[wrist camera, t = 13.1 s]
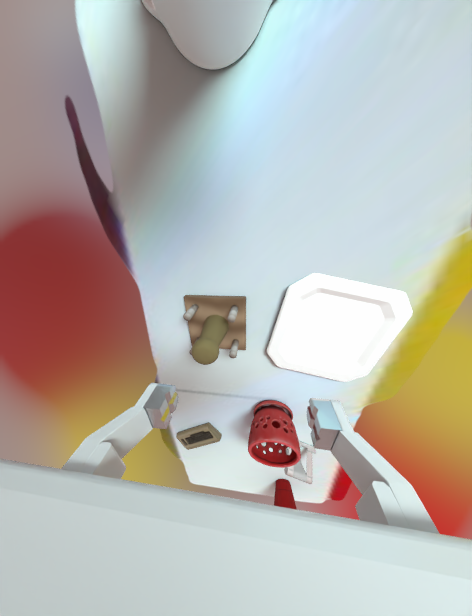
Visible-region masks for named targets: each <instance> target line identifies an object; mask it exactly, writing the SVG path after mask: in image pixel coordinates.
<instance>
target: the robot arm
mask: <svg viewBox="0 0 472 616" xmlns="http://www.w3.org/2000/svg"><path fill="white" fill-rule="evenodd" d="M272 1H273V0H142V2H143V4H144V6H145V7H146V9H147V10H148V11H149V12H150V13H151V14H152V15H153V16H154V17H156V18H157V19H158V20H159V21H161V22H162V24H163V25H164V26H165V28H166V30H167V31H168V33H169V35H170V37H171V39H172V41H173V42H174V44H175V46H176V47H177V48H178V50H179V51H180V52H181V53H182V55H183V56H184V57H185V58H186V59H188V60H189V61H190V62H191V63H193V64H195V65H197V66H199V67H201V68H205V69H221V68H224V67H226V66H229V65H230V64H232V63H234V62H235V61H237V60H238V59H239V58H240V57H241V56H242V55H243V54H244V53H245V52H246V51H247V50H248V48H249V47H250V46H251V44H252V43H253V41H254V39H255V38H256V36H257V34H258V32H259V30H260V28H261V26H262V23H263V21H264V19H265V16H266V14H267V11H268V9H269V7H270V5H271V3H272ZM175 391H176V387H175V385H166V384H158V383H151V384H150V385H149V386H148V387H147V389H146V390H145V392H144V393H143V394H142V396H141V397H140V399H139V400H138V402H137V403H136V405H135V406H134V407H131V408H129V409H128V410H126V411H125V412H123V413H122V414H121V415H119V416H118V417H116V418H115V419H113V420H112V421H110V422H109V423H107V424H106V425H105V426H103V427H102V428H100V429H99V430H97V431H96V432H94V433H93V434H91V435H90V436H89V437H87V438H86V439H85V440H84V441H83V443H82V444H81V445H80V446H79V447H78V449H77V450H76V451H75V452H74V454H73V455H72V456H71V457H70V459H69V460H68V461H67V462H66V464H65V465H64V466H63V467H62V469H58V468H52V467H46V466H40V465H34V464H28V463H22V462H17V461H11V460H6V459H0V616H472V540H471V539H465V538H459V537H454V536H448V535H441V534H439V532H438V531H437V528H436V527H435V525H434V523H433V521H432V520H431V518H430V516H429V515H428V513H427V511H426V510H425V508H424V506H423V504H422V502H421V501H420V499H419V497H418V495H417V494H416V492H415V490H414V489H413V487H412V485H411V484H410V483H409V482H408V481H407V480H405V478H404V477H403V476H401V475H400V474H399V473H398V472H397V471H396V470H395V469H394V468H393V467H392V466H391V465H390V464H389V463H388V462H387V461H386V460H385V459H384V458H383V457H382V456H381V455H380V454H379V453H378V452H377V451H376V450H375V449H374V448H373V447H372V446H370V445H369V444H368V443H367V442H366V441H365V440H364V439H363V438H362V437H361V436H360V435H359V434H358V433H355V432H354V430H353V428H352V426H351V424H350V422H349V419H348V417H347V415H346V413H345V411H344V408H343V406H342V404H341V402H340V401H338V400H328V399H316V398H310V400H309V404H310V406H309V407H308V408H307V421H308V425H309V426H310V428H311V429H312V431H311V438H312V442H313V446H314V448H317V449H324V450H330V451H331V452H332V454H333V455H334V456H335V458H336V459H337V461H338V462H339V463H340V465H341V466H342V467H343V469H344V470H345V472H346V473H347V474H348V476H349V477H350V478H351V480H352V481H353V482H354V484H355V485H356V486H357V488H358V489H359V491H360V492H361V493H362V495H363V496H362V497H361V498H360V500H359V501H358V502H357V504H356V506H355V507H356V510H357V513H358V516H359V519H360V520H354V519H349V518H342V517H337V516H331V515H326V514H320V513H314V512H308V511H302V510H297V509H291V508H285V507H279V506H273V505H267V504H262V503H256V502H249V501H244V500H238V499H233V498H227V497H221V496H215V495H209V494H203V493H197V492H192V491H186V490H180V489H174V488H168V487H163V486H157V485H151V484H145V483H138V482H133V481H127V480H122V479H121V477H122V475H123V473H124V472H125V470H126V466H125V464H124V463H123V461H122V460H121V459H122V458H123V457H124V456H125V455H126V454H127V453H128V452H129V451H130V450H131V449H132V448H133V447H134V446H135V445H136V444H137V443H138V442H139V441H140V440H142V439H143V438H144V437H145V436H146V435H147V434H148V433H149V432H150V431H151V430H152V428H161V429H167V426H168V424H169V422H170V420H171V418H172V417H171V413H172V412H173V411H174V410H175V409H176V406H177V403H178V394H177V393H176V392H175Z"/></svg>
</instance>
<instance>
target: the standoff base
mask: <svg viewBox="0 0 472 616" xmlns="http://www.w3.org/2000/svg"><path fill="white" fill-rule="evenodd" d="M184 301H185V307H186V313H185V314H184V315H183V318H184V319H185V320H187V321H188V325H189V331H190V337H191V343H192V347H193V345H194V343H195V342H196V341H197V340H199V338H200V335H201V332H202V329H203V325H204V322H205V320H206V318H207V317H209V316H210V315H220V316H222V317H224V318H225V319H226V320H227V322H228V324H229V329H228V332H227V334H226V335H225V337H224V339H223V341H222V342H221V344H220V346H219V348H221V349H231V350H230V354H229V356H230V357H231V358H236V356H237V351H238V350H246V297H245V296H206V295H185V296H184ZM190 354H191V355H192V348H191V350H190Z"/></svg>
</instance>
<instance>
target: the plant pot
mask: <svg viewBox="0 0 472 616" xmlns="http://www.w3.org/2000/svg"><path fill="white" fill-rule="evenodd" d="M292 419H293V414H292V411H291V410H290V408H289V407H288V406H286V405H285V404H283V403H281V402H278V401H274V400H268V401H263V402H261V403H259V404H258V405H257V406H256V407H255V409H254V419H253V421H252V424H251V430H250V434H249V442H248V452H249V454H250V456H251V457H252V458H254V459H255V460H256V461H258V462H260V463H262V464H265V465H268V466H272V467H290V466H293V465H295V464H297V463H298V462H299V461H300V458H301V454H300V445H299V440H298V437H297V434H296V430H295V426H294V424H293V422H292ZM263 442H266V446H262V445H261V443H263ZM274 442H275V443H278V444H277V445H275V444H274ZM281 444H283V445H284V446H281ZM256 445H257V446H258V449H257V447H256ZM270 447H271V448H273V452H270V451H269V448H270ZM287 447H290V448H291V454H290V455H287V454H286V448H287ZM280 449H281V450H282V453H279V450H280ZM263 450H265V451H266V454H264V453H263Z"/></svg>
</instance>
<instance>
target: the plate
mask: <svg viewBox="0 0 472 616" xmlns="http://www.w3.org/2000/svg"><path fill="white" fill-rule="evenodd" d="M412 313H413V311H412V308H411V305H410V302H409V300H408V297H407V294H406V293H405V292H403V291H400V290H395V289H390V288H385V287H381V286H376V285H371V284H366V283H362V282H357V281H352V280H347V279H343V278H338V277H333V276H328V275H324V274H319V273H312V274H310V275H308V276H306V277H304V278H303V279H301V280H299V281H297V282H295V283H294V284H292V285H290V286H289V287H288V289H287V292H286V295H285V298H284V301H283V304H282V307H281V309H280V312H279V315H278V318H277V321H276V324H275V327H274V330H273V333H272V336H271V339H270V342H269V345H268V348H267V354H268V355H269V357H270V358H271V359H272V361H273V362H274V363H275V365H276V366H278V367H281V368H285V369H289V370H294V371H298V372H302V373H307V374H311V375H315V376H320V377H324V378H328V379H332V380H337V381H341V382H347V381H351V380H354V379H357V378H360V377H364V376H366V375H367V374H369V372H370V371H371V370H372V368H373V367H374V366H375V364H376V363H377V361H378V360H379V359H380V357H381V356H382V355H383V353H384V352H385V351H386V349H387V348H388V347H389V345H390V344H391V343H392V341H393V340H394V339H395V337H396V336H397V335H398V333H399V332H400V331H401V329H402V328H403V327H404V325H405V324H406V323H407V321H408V320H409V319H410V317H411V316H412Z"/></svg>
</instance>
